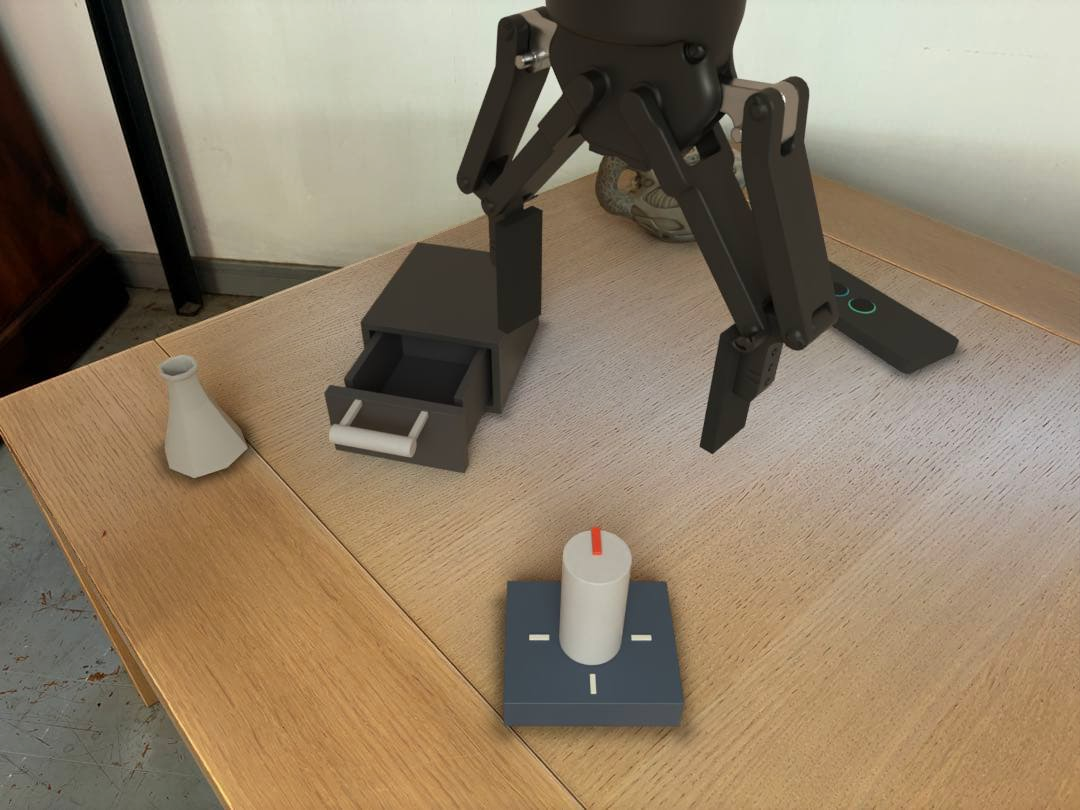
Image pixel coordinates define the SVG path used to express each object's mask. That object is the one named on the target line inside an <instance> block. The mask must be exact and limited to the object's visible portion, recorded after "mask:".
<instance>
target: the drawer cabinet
mask: <svg viewBox="0 0 1080 810" xmlns="http://www.w3.org/2000/svg"><path fill="white" fill-rule="evenodd" d="M359 323H360V330H361V338H362V342H363V349H364V348H365V347H366V345H367V344H368V342H369V341H370V339H371V338H372V336H373V335H374V333H375V332H376V331H380V332H386V333H393V334H399V335H406V336H412V337H418V338H425V339H431V340H437V341H444V342H450V343H457V344H463V345H469V346H476V347H482V348H489V349H491V361H492V389H493V392H492V394H491V396H490V399H489V401H488V403H487V405H486V407H485V410H484V412H485V413H486V412H487V413H493V414H499V415H501V414H502V412H503V410H504V407H505V405H506V403H507V401H508V398H509V396H510V394H511V392H512V390H513V386H514V385H515V382H516V380H517V378H518V375H519V373H520V371H521V368H522V366H523V364H524V361H525V359H526V357H527V354H528V352H529V350H530V348H531V345H532V343H533V340H534V338H535V336H536V333H537V332H538V331H537V330H538V329H539V326H540V316H538V317H536V318H535V319H533V320H531V321H529V322H528V323H526V324H524V325H523V326H521V327H519V328H517V329H516V330H514V331H512V332H511V333H509V334H506V333H504V332H502V331H501V330H499V329H498V314H497V279H496V267H494V266H493V265H492V262H491V259H490V251H487V250H479V249H471V248H464V247H459V246H458V247H457V246H450V245H442V244H436V243H427V242H420V241H417V242H416V243H415V245H414V246H413V248H412V249H411V251H410V252H409V253H408V255H407V256H406V258H405V259H404V260H403V262H402V263H401V265H400V266H399V267H398V269H397V270H396V271H395V273H394V274H393V276H392V277H391V279H390V280H389V281H388V283H387V284H386V285H385V287H384V288H383V290H382V291H381V292H380V294H379V295H378V297H377V298H376V299H375V301H373V303H372V304H371V307H369V309H368V311H367V312H366V313H365V315H364V316H363V317H362V319H361V320H360V322H359Z"/></svg>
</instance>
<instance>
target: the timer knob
mask: <svg viewBox="0 0 1080 810" xmlns="http://www.w3.org/2000/svg"><path fill="white" fill-rule="evenodd" d="M561 559H562V560H561V565H562V566H561V581H562V582H561V605H560V628H559V641H560V645H561V647H562V649H563V651H564V652H565V653H566V654H567V655H568V656H569V657H570V658H571V659H573V660H574V661H576V662H579V663H581V664H585V665H598V664H602V663H605V662H607V661H609V660H611V659H612V658H613V657H614V656H615V655H616V654H617V653H618V651H619V649H620V646H621V641H622V634H623V626H624V618H625V610H626V603H627V595H628V587H629V581H630V579H631V570H632V564H633V555H632V552H631V549H630V547H629V545H628V544H627V543H626V542H625V541H624V539H622V538H621V537H620V536H618V535H617V534H615V533H612V532H609V531H607V530H602V529H601V527H600V526H592V527H591V529H588V530H584V531H581V532H578V533H576V534H575V535H573V536H572V537H571V538H570V539H569V540H568V541H567V542H566V543H565V545H564V547H563V549H562V558H561Z"/></svg>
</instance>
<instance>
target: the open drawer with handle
mask: <svg viewBox="0 0 1080 810" xmlns="http://www.w3.org/2000/svg"><path fill="white" fill-rule="evenodd" d="M343 381H344V386H340V385H335V384H329V385H328V386H327V388H326V389H325V391H324V398H325V404H326V410H327V413H328V419H329V423H330V428H329V432H328V441H329V442H330V443H331V444H334V447H335V450H336V451H341V452H347V453H351V454H357V455H363V456H369V457H374V458H380V459H384V460H389V461H395V462H401V463H406V464H412V465H417V466H421V467H426V468H427V467H428V468H433V469H438V470H445V471H448V472H449V471H450V472H453V473H460V474H466V472H467V471H468V470H467V469H468V467H469V463H470V462H469V460H470V459H469V445H470V442H471V440H472V438H473V436H474V434H475V432H476V429H477V427H478V425H479V423H480V422H481V421H480V420H481V418H482V416H483V414H484V412H485V411H484V410H485V407H486V405H487V403H488V401H489V399H490V396H491V394H492V392H493V389H492V361H491V349H489V348H482V347H476V346H469V345H463V344H457V343H450V342H444V341H437V340H431V339H425V338H418V337H412V336H406V335H399V334H393V333H386V332H380V331H376V332H375V333H374V335H373V336H372V338H371V339H370V341H369V342H368V344H367V345H366V347H365V348H364V347H363V349H362V351H361V352H360V353H359V356H358V357H357V358H356V360H355V361H354V362H353V364H352V366H351V367H350V368H349V369H348V371H347V373H346V374H345V376H344V377H343Z"/></svg>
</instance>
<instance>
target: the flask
mask: <svg viewBox="0 0 1080 810" xmlns="http://www.w3.org/2000/svg"><path fill="white" fill-rule="evenodd" d="M157 370H158V374H159V377H160V378H161V379H162V380H165V382H166V386H167V391H168V399H169V403H168V415H167V425H166V433H165V437H164V438H165V439H164V448H163V449H164V453H165V457H166V460H167V465H168V467H169V469H170V470H172V471H175V472H177V473H181V474H182V475H184V476H188V477H190V478H192V479H196V478H199V477H203V476H207V475H209V474H211V473H216V472H218V471H221V470H225V469H227V468H228V467H230V466H231V465H232V464H233V463H234V462H236V460H237V459H238V458H239V457H240V456H241V455H243V454H244V453H245V452H246V451H247V450H248V449H249V447H248V444H247V441H246V439H245V436H244V434H243V430H242V428H241V427H239V426H238V424H237V423H236V422H235V421H234V420H233V419H232V418H231V417H230V416H229V415H228V414H227V413H226V411H224V410H223V409H222V407H220V406H219V404H218V403H217V402H216V401H215V399H214V398H213V397H212V396H211V394H209V393H208V392H207V390H206V388H205V387H204V385H203V383H202V382H201V380H200V379H199V376H198V373H197V372H199V365H198V362H197V359H196V357H194V356H192V355H189V354H185V353H181V354H177V355H173V356H169V357H167V358H166V359H164V360H163V361H162V362H161V363H159V364H157Z"/></svg>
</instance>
